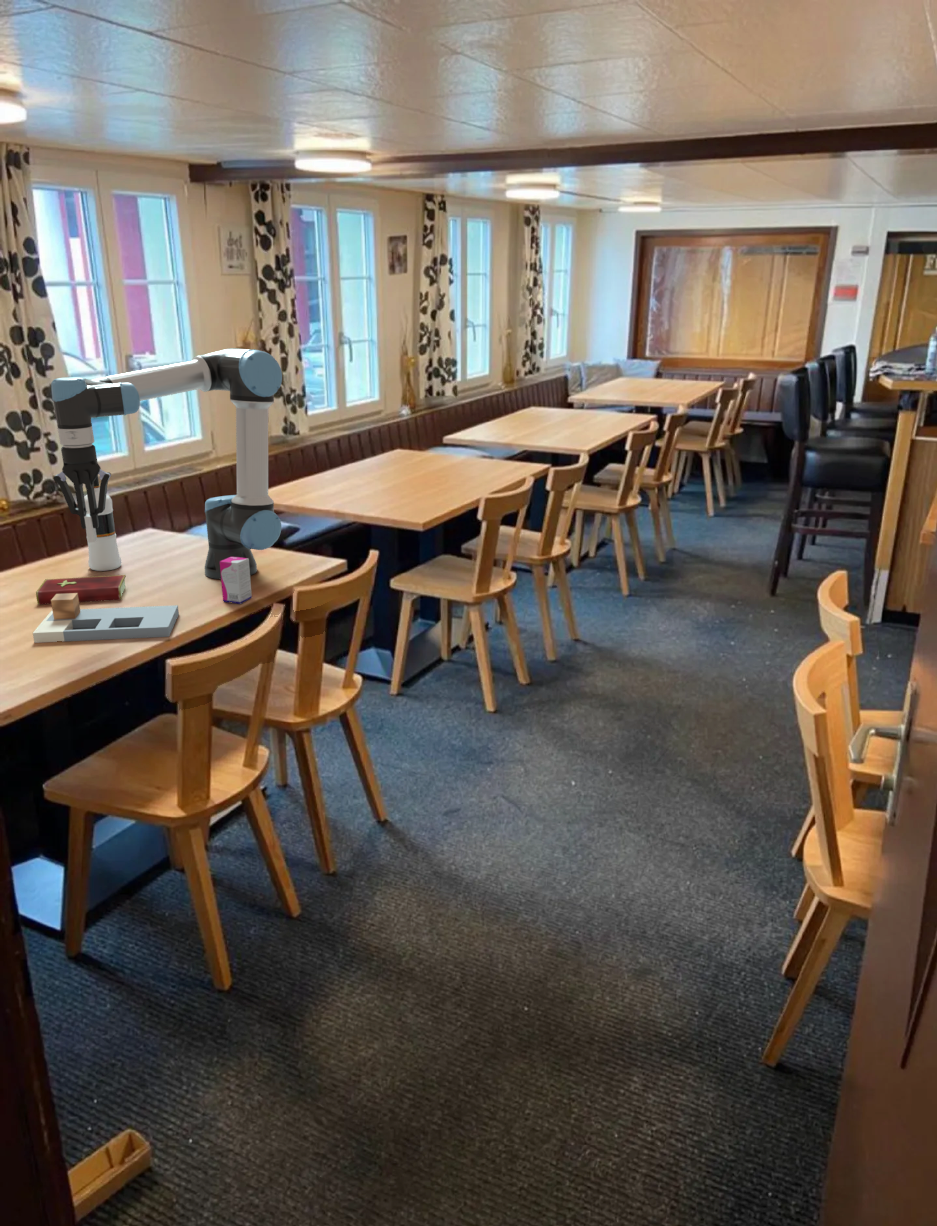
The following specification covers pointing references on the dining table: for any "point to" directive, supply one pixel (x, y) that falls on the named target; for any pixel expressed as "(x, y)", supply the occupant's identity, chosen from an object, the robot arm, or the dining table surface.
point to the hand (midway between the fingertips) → (92, 540)
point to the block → (65, 606)
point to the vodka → (103, 537)
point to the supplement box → (235, 580)
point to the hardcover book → (83, 588)
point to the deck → (109, 624)
